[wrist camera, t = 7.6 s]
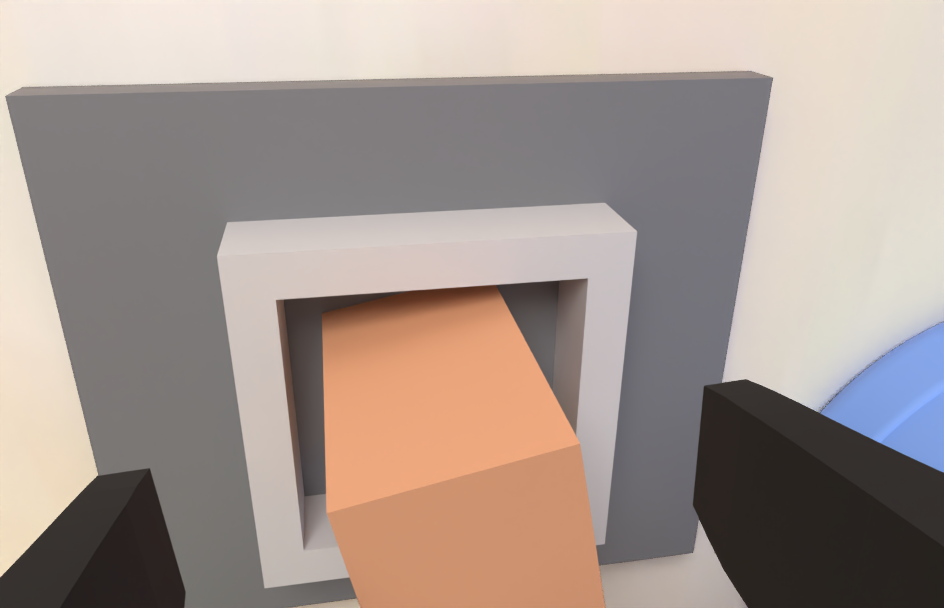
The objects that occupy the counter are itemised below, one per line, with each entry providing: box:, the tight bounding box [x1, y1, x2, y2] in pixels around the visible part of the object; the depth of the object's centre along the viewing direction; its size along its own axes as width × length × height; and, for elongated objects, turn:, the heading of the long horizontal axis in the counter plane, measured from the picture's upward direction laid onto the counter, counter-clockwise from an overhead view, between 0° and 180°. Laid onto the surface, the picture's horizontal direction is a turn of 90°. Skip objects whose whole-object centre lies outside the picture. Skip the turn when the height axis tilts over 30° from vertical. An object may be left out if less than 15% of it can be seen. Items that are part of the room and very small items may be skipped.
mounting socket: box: [5, 71, 773, 608], centre depth 19 cm, size 16×14×3 cm
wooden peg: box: [322, 285, 605, 608], centre depth 16 cm, size 4×4×7 cm
